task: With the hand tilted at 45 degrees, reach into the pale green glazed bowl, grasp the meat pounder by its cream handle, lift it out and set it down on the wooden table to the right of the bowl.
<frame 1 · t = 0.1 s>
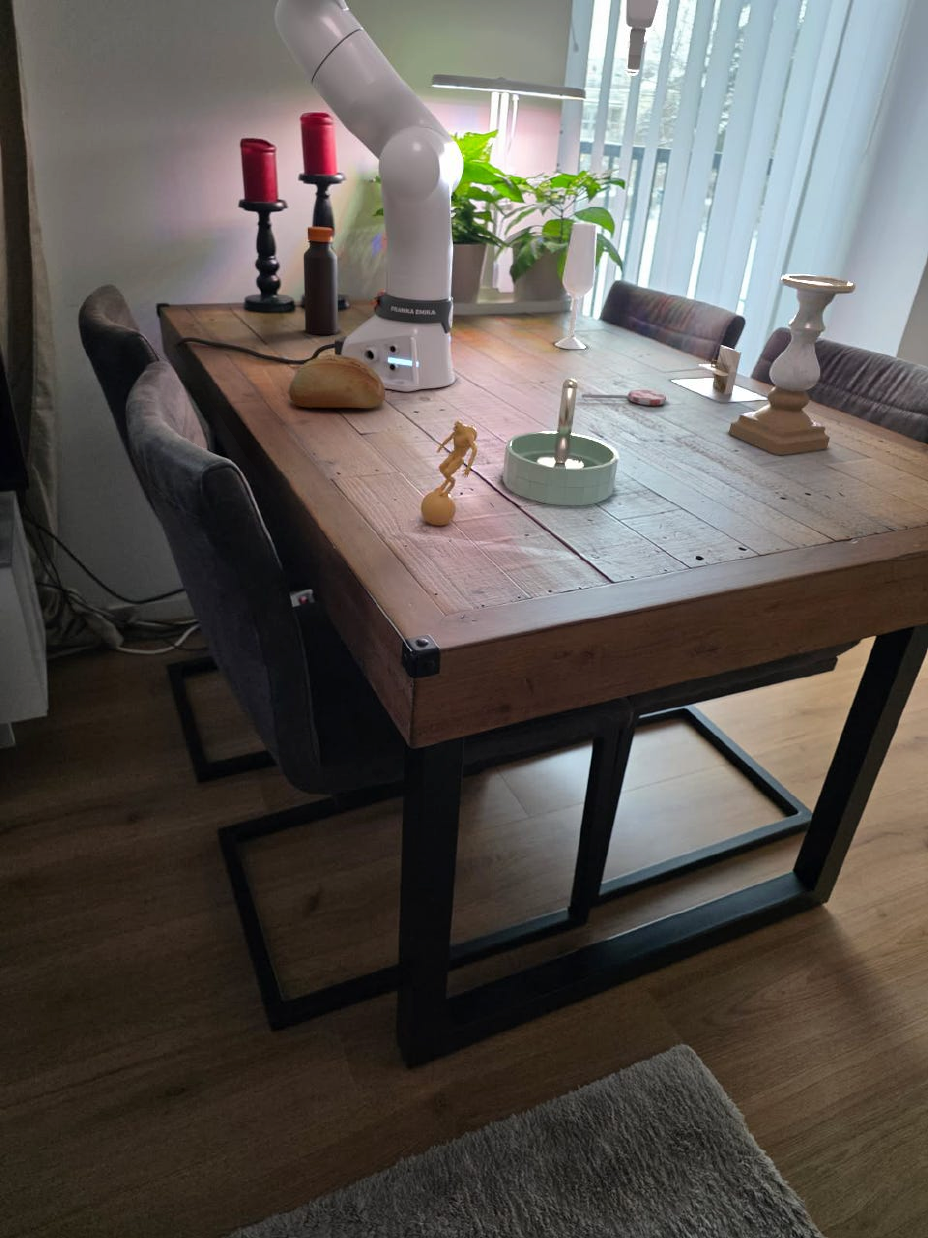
hand: (632, 72, 125), 48 cm above the table, tool pointing down, fingers open, 8 cm apart
champagne flute: (570, 346, 184), on the table
candle holder: (776, 442, 134), on the table
bottle: (321, 332, 180), on the table
figurine: (445, 525, 98), on the table
bowl: (557, 486, 111), on the table
bread roll: (337, 408, 134), on the table
meat pounder: (557, 484, 111), resting on bowl
architectural model: (718, 390, 160), on the table
lollipop: (623, 401, 149), on the table
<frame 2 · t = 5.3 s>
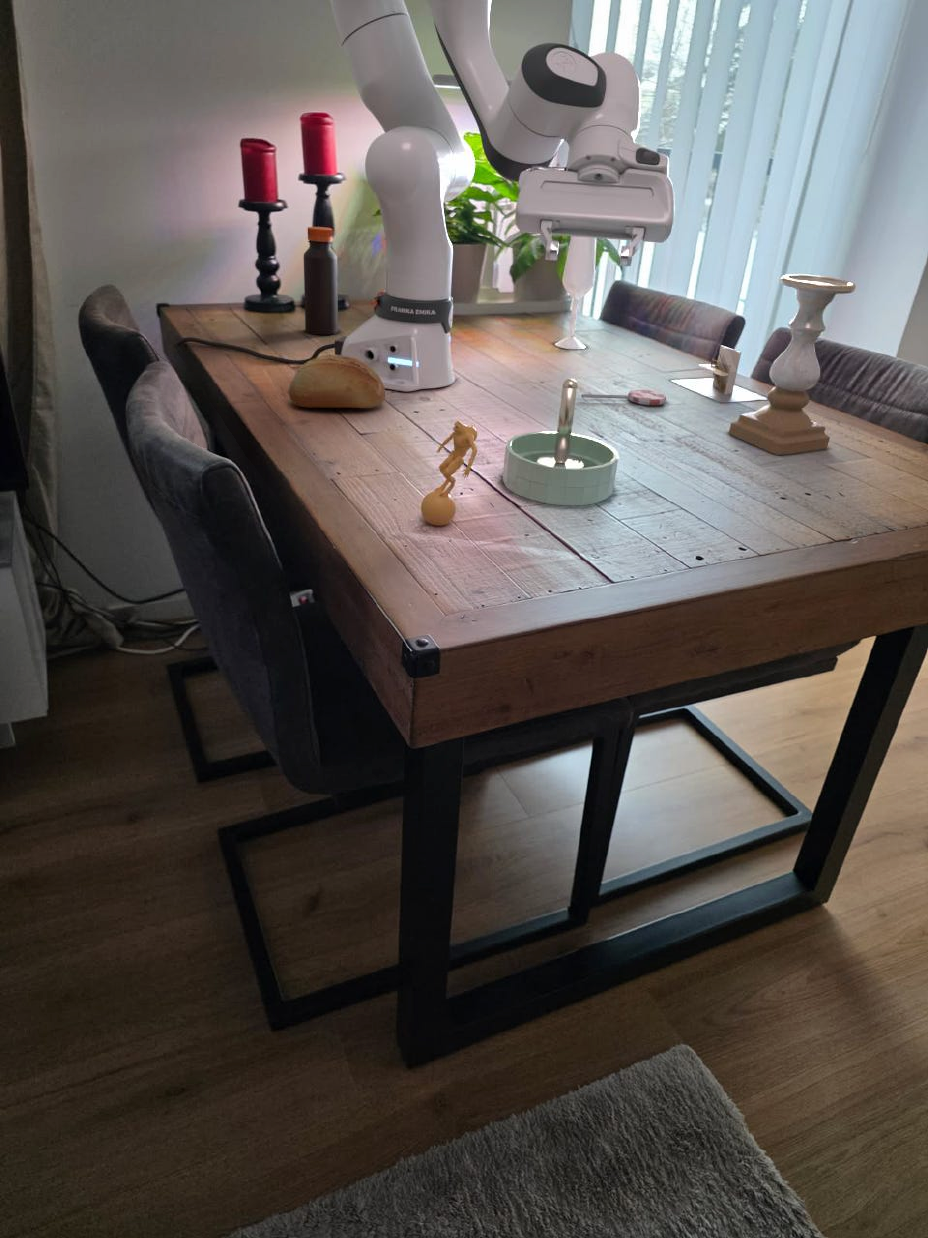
hand: (588, 259, 108), 26 cm above the table, tool tilted 45°, fingers open, 8 cm apart
nothing on the table moved.
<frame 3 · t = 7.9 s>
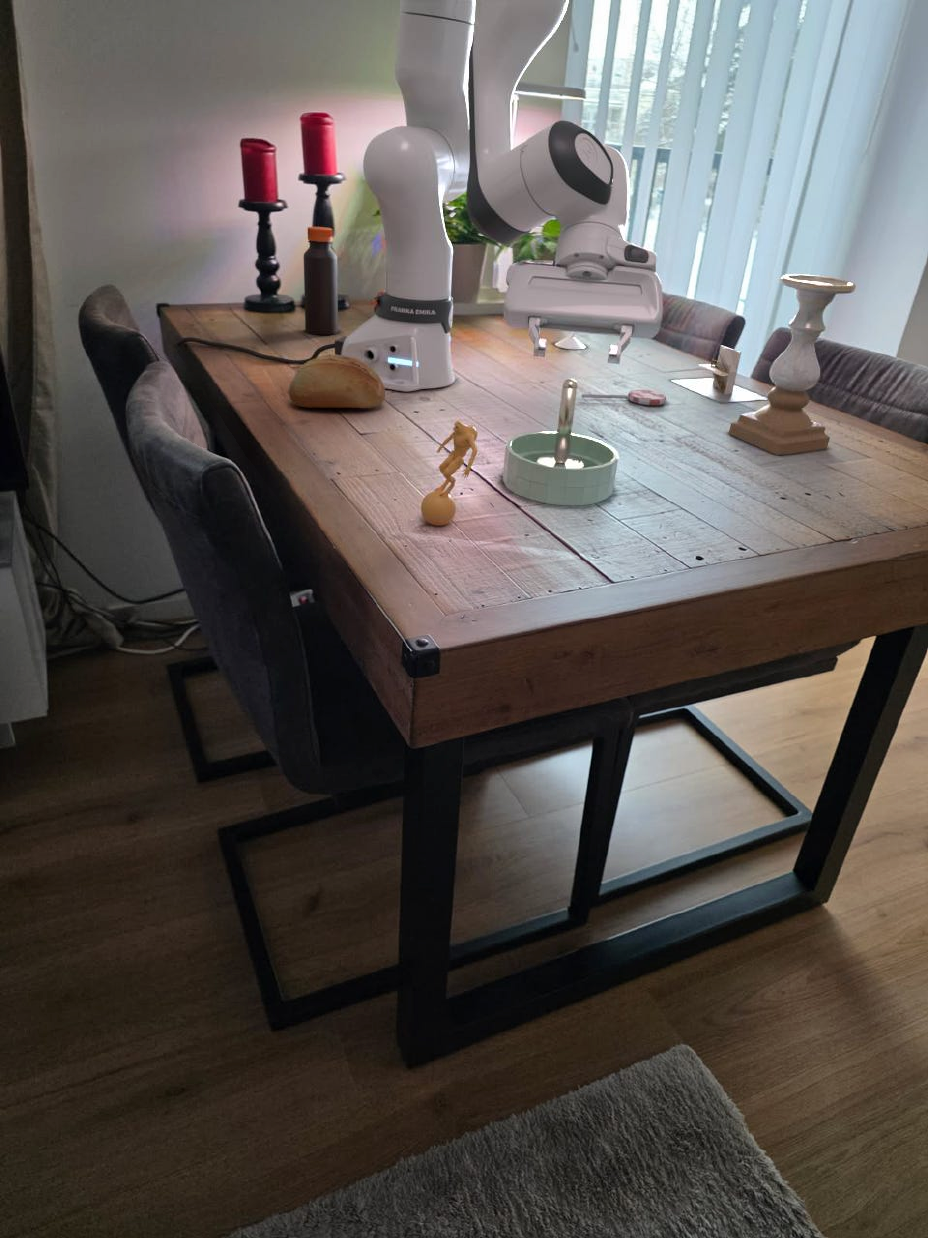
hand: (576, 357, 108), 15 cm above the table, tool tilted 45°, fingers open, 8 cm apart
nothing on the table moved.
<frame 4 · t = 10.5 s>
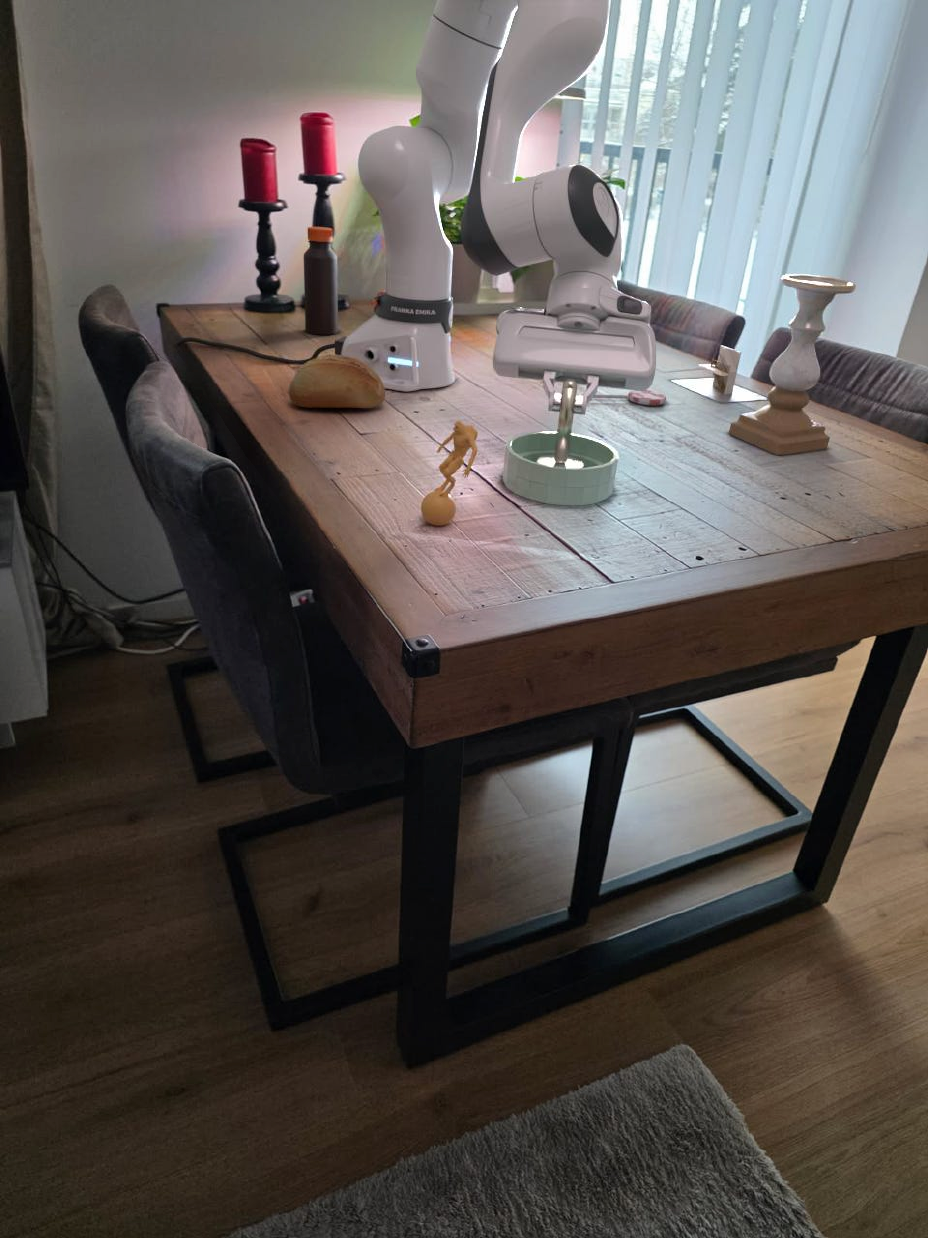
hand: (566, 410, 105), 10 cm above the table, tool tilted 45°, fingers closed on meat pounder
meat pounder: (557, 484, 111), resting on bowl, touching gripper
everything else where it was.
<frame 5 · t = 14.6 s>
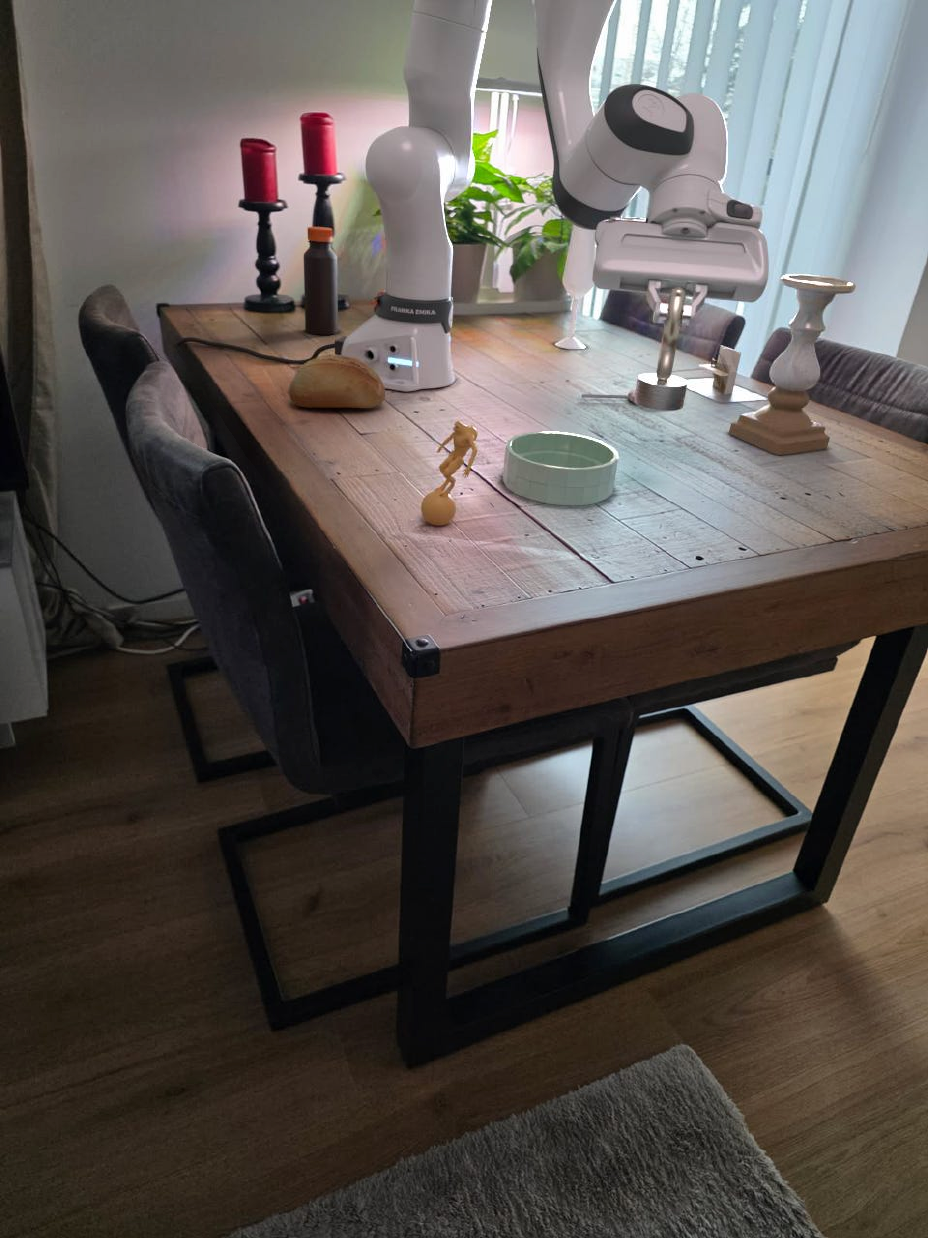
hand: (673, 321, 99), 22 cm above the table, tool tilted 45°, fingers closed on meat pounder
meat pounder: (658, 403, 105), point 12 cm above the table, touching gripper
everything else where it was.
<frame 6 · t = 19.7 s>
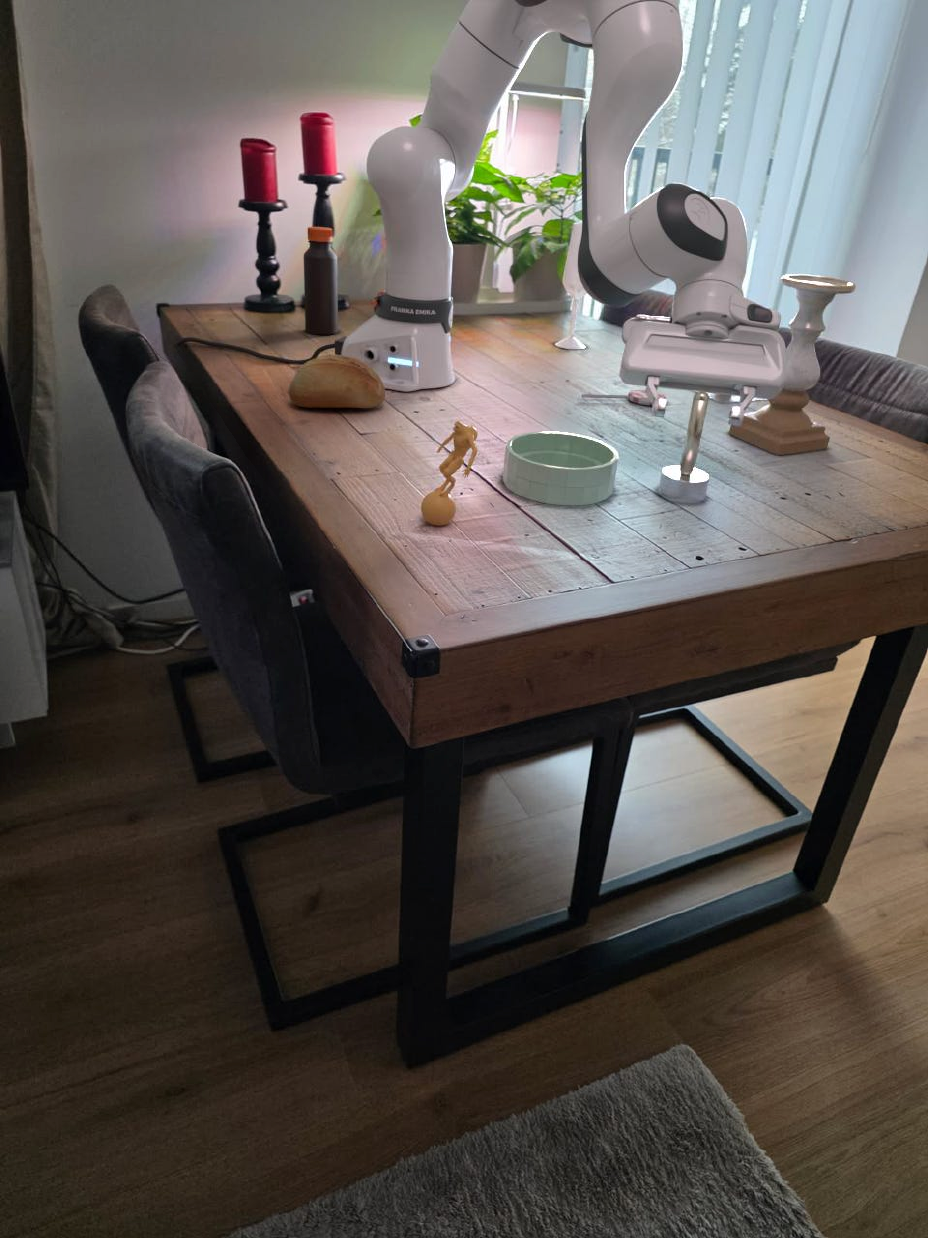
hand: (696, 418, 105), 10 cm above the table, tool tilted 45°, fingers open, 8 cm apart
meat pounder: (681, 495, 111), on the table
everything else where it was.
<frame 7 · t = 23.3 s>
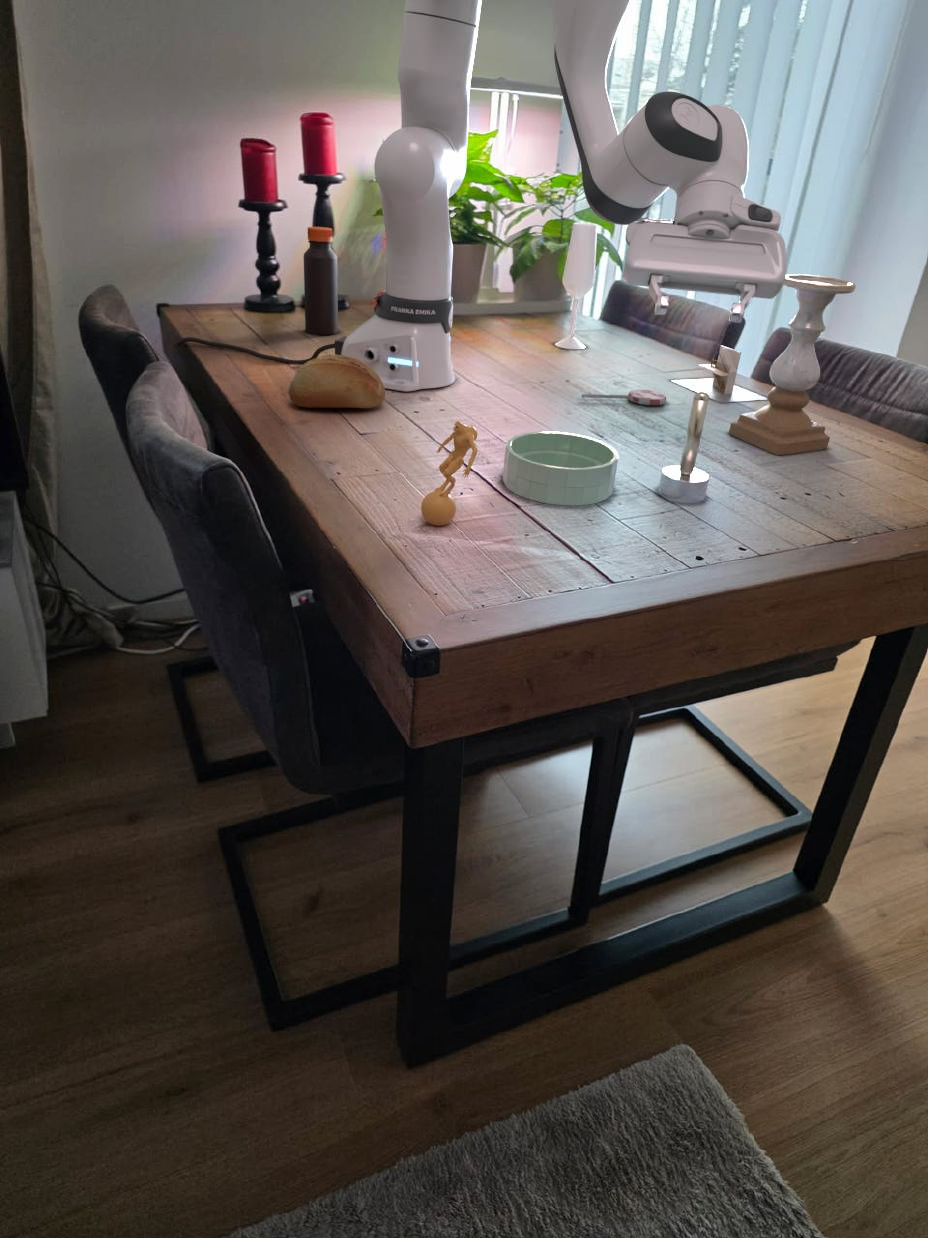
hand: (698, 315, 108), 21 cm above the table, tool tilted 45°, fingers open, 8 cm apart
nothing on the table moved.
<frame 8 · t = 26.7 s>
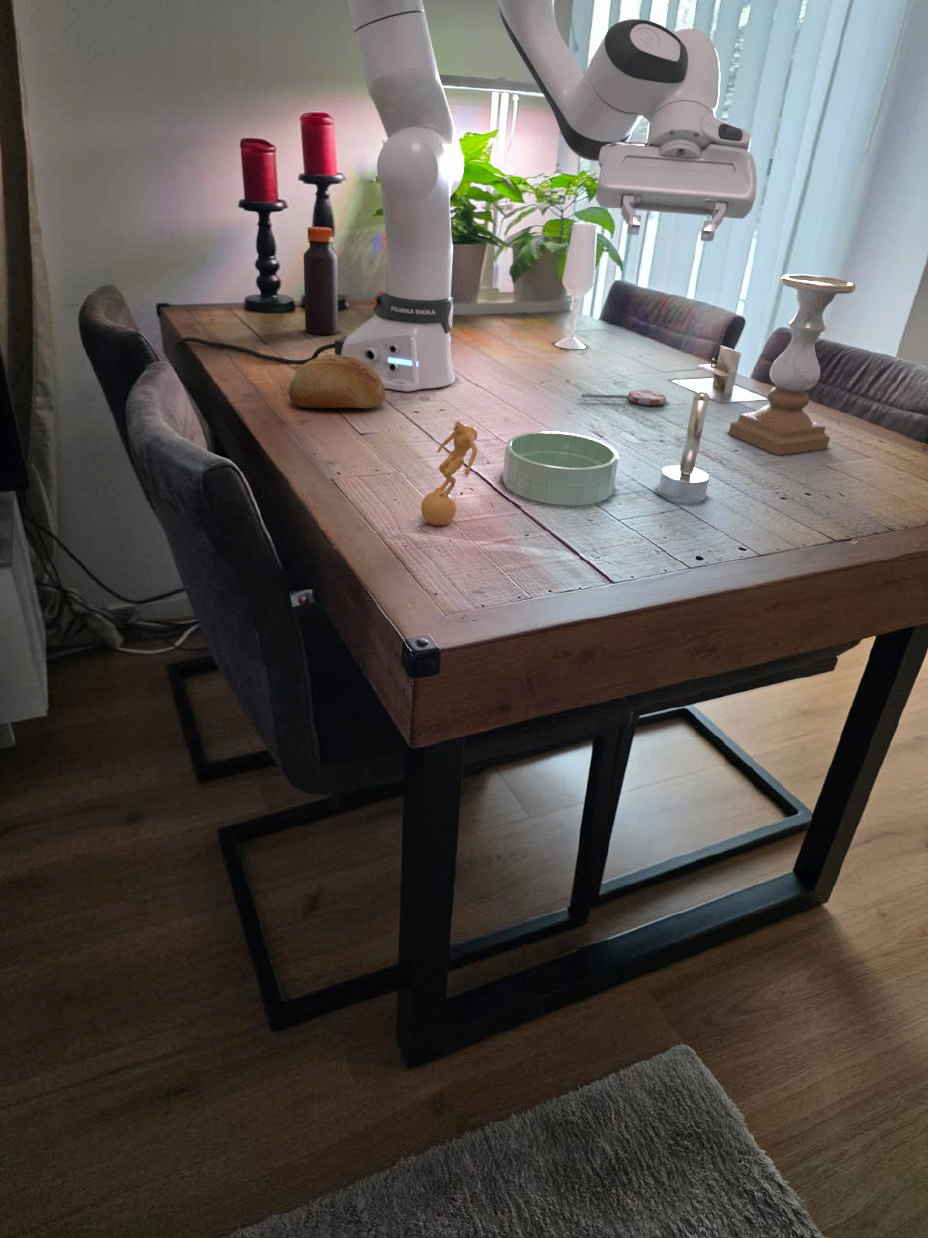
hand: (670, 234, 109), 29 cm above the table, tool tilted 45°, fingers open, 8 cm apart
nothing on the table moved.
at the end: meat pounder inside the target area (0.1 cm from its centre), on the table; meat pounder touching table; the gripper is holding nothing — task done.
